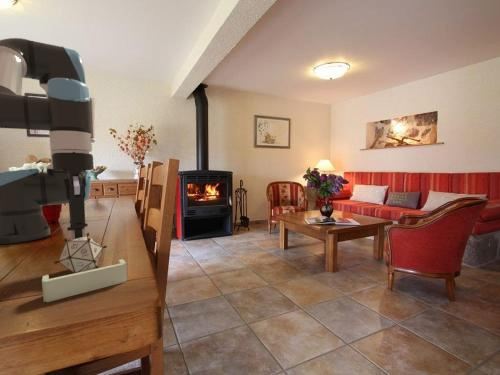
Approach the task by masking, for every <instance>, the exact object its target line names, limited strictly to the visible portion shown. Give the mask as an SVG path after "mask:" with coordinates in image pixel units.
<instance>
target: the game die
mask: <svg viewBox="0 0 500 375" xmlns="http://www.w3.org/2000/svg"><path fill="white" fill-rule="evenodd" d="M62 238H63V241H64V242H65V243H64V246H63V249H62V251H61V253H60V256H59V258H58V260H55V261H54V262H53V264H55V265H56V264H58V263H59V264H61V265H62V266H64V268H66V269H67V270H69V271H70V272H72V274H74V273H79V272H84V271H88V270H92V269H97V268H100V267H99V265H98V263H99V261H100V258H101V255H102V252H103V251H104V249H107V247H108V245H103V246H102V245H101V244H100V243H99V242H97V241H95V240H94V239H93V238H91V237H90V232H87V233H86V236H85V237H80V238H76V239H72V240H71V239H69V240H68V239H67V238H66V237H65V238H64V237H62Z"/></svg>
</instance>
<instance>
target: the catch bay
mask: <svg viewBox="0 0 500 375" xmlns="http://www.w3.org/2000/svg"><path fill="white" fill-rule="evenodd" d="M127 271H128V270H127V262H126V260H124V259H123V258H122V259H118V263H116V264H112V265H111V264H110V265H107V266H102V267H99V268H97V269H96V268H92V269H89V270H86V271H83V272H79V273H70V274H67V275H66V274H65V275H62V276H61V275H60V276H57V277H52V278H50V276H49V274H45V275H42V279H41V284H42V285H41V287H42V298H43V303H45V302H46V303H49V302H54V301H58V300H61V299H66V298H68V297H73V296H77V295H80V294H84V293H87V292H92V291H95V290H100V289H104V288H107V287H111V286H115V285H118V284H123V283H126V282H127V281H128V272H127Z"/></svg>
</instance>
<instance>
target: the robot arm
mask: <svg viewBox="0 0 500 375" xmlns="http://www.w3.org/2000/svg"><path fill="white" fill-rule="evenodd" d="M23 78H24V79H31V80H35V81H36V80H37V81H39V86H40V88H41V89H42V90H43V91H45V97H46V98H45V97H37V96H28V95H22V92H23V90H22V89H23ZM89 92H90V91H89V87H88V85H86V74H85V68H84V63H83V60H82V57H81V55H80V53H79V52H78V51H76V50H74V49H71V48H66V47H64V46H60V45H54V44H49V43H45V42H40V41H34V40H30V39H27V38H19V37H10V38H3V39H0V129H14V130H16V129H17V130H34V131H48V134H49V135H48V136H49V146H50V148H49V149H50V158H51V159H50V160H51V162H50V163H49V164H48V165H47V166H46V171H45V172H44V171H43V172H40V170H39V169H38V168H30V169H29V168H27V169H26V168H25V169H18V170H10V171H3V172H0V245H7V244H16V243H17V244H19V243H25V242H29V241H34V240H39V239H43V238H46V237H49V236H50V235H51V227H50V226H49V224H48V221H47V220H46V218H45V215H44V214H43V207H44V206H52V205H54V206H55V205H64V204H68V210H69V211H68V212H69V226H68V227H66V229H67V231H70V238H71V239H70V240H72V239H76V238H80V237H85V236H87V233H86V228H87V227H89V226H88V223H86V208H85V206H86V205H85V202H86V201H88V200H89V197H90V193H91V185H92V179H91V178H92V174H91V172H90V171H92V170H94V155H93V154H92V153H90V152H92V151H93V144H94V143H96V139H95V138H92V127H91V126H92V125H91V124H92V123H91V107H90V105H91V103H90V102H91V97H90V93H89Z"/></svg>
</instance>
